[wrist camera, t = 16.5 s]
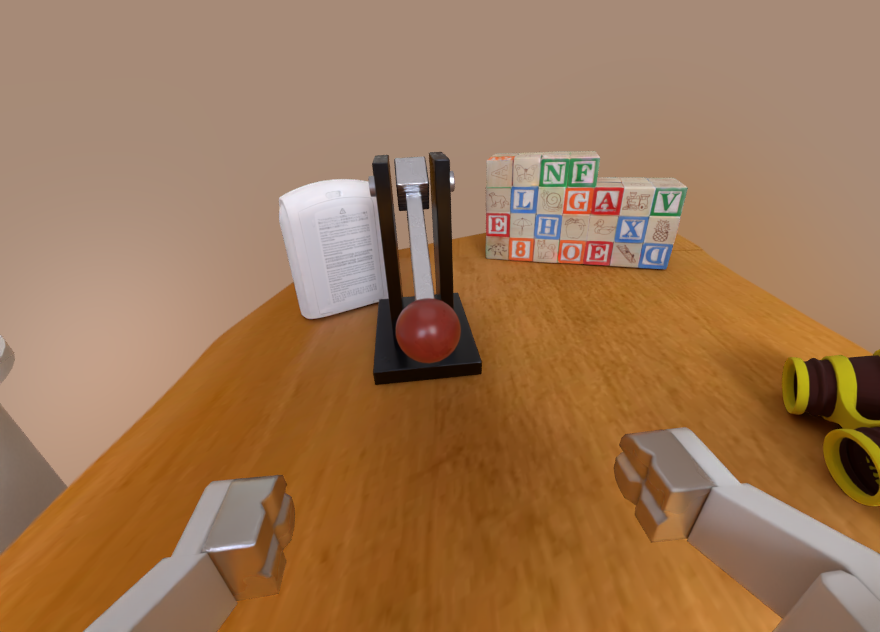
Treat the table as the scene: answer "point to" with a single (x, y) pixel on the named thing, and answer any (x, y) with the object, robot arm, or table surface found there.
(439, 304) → the lever
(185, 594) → the robot arm
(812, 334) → the table surface
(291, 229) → the photo printer
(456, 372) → the bracket
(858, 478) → the opera glasses
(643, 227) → the stack of blocks
